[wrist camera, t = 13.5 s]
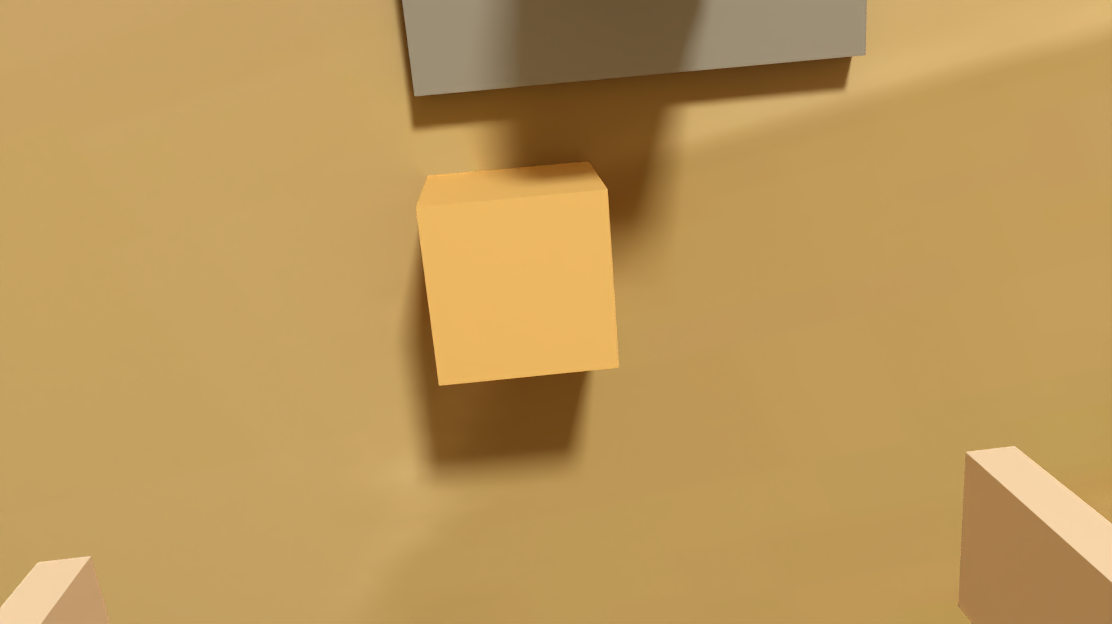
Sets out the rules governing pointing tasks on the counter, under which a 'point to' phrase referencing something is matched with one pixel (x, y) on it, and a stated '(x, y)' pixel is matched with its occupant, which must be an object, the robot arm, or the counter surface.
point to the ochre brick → (518, 272)
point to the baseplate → (616, 38)
